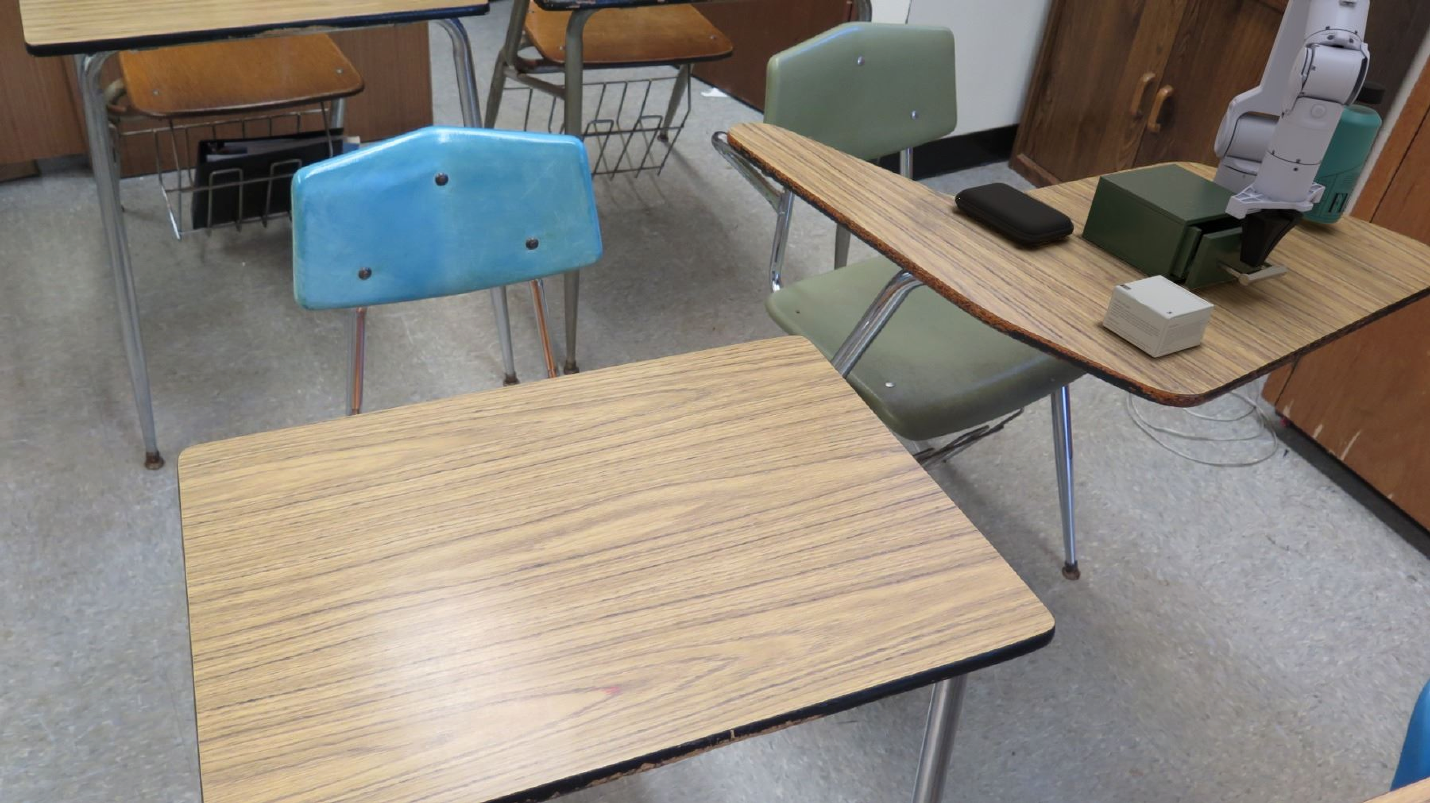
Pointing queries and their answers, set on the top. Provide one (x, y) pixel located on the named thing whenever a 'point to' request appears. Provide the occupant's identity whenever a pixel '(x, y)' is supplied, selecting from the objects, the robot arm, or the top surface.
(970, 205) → the carrying case
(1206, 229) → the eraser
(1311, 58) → the robot arm
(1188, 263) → the drawer
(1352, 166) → the beverage bottle
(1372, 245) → the top surface
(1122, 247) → the cabinet
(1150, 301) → the small box
